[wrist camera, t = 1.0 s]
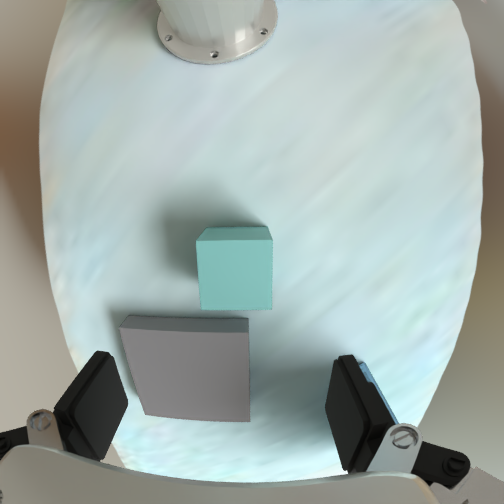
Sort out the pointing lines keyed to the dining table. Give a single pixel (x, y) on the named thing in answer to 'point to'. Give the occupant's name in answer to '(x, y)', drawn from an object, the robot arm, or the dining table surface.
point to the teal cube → (235, 268)
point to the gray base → (190, 366)
